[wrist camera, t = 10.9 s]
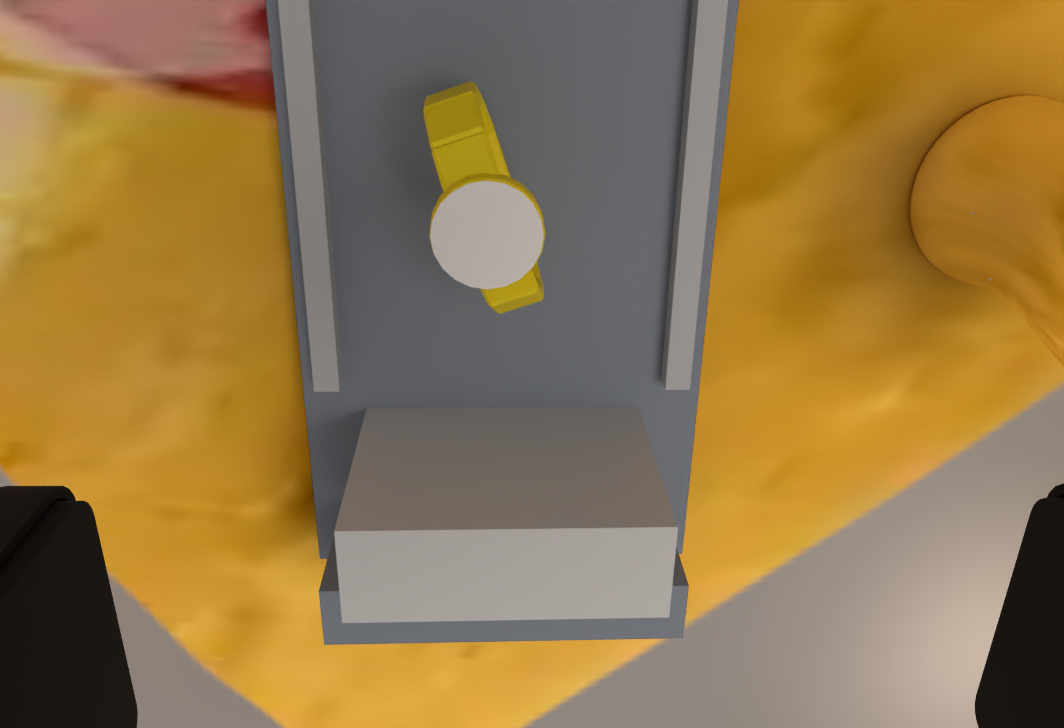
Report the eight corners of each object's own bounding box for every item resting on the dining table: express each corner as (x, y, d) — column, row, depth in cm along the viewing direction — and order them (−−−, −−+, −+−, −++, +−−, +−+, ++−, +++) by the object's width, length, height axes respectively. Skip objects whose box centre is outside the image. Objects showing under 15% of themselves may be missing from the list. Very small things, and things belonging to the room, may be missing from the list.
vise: (801, -754, 20) (990, -1176, 12) (675, 534, 34) (729, 697, 26) (201, -788, 19) (22, -1253, 12) (325, 538, 33) (278, 707, 26)
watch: (558, 247, 28) (580, 331, 23) (474, 274, 28) (476, 364, 23) (496, 56, 25) (505, 103, 20) (403, 88, 26) (388, 143, 20)
